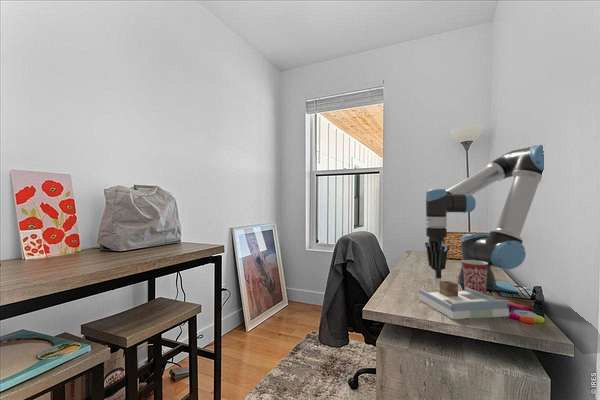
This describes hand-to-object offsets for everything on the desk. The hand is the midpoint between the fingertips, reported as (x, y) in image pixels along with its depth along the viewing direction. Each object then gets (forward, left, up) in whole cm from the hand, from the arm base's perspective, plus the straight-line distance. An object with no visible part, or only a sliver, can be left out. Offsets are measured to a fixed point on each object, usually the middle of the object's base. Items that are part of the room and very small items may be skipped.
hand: (436, 285), depth 118 cm
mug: (-16, +1, -4) cm, 17 cm away
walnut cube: (0, +7, -1) cm, 7 cm away
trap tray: (0, +14, -4) cm, 14 cm away
